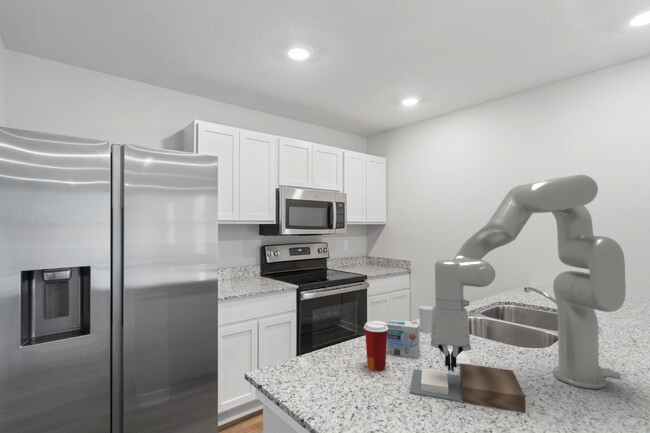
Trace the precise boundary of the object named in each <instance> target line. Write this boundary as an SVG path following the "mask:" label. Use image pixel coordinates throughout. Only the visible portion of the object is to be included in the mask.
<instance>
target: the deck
mask: <svg viewBox="0 0 650 433" xmlns="http://www.w3.org/2000/svg"><path fill="white" fill-rule="evenodd" d="M459 378H460V380H459V381H460V386H461V397H462V402H463V403H464V404H471V405H476V406H482V407H489V408H496V409H502V410H507V411H513V412H519V413H526V395H525V392H524V391H523V389H522V387H521V384H520V382H519V380H518V378H517V376H516V374H515V373H514V370H513V369H504V368H498V367H497V368H496V367H490V366H482V365H475V364H472V365H468V364H460V366H459Z"/></svg>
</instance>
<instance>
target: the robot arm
mask: <svg viewBox="0 0 650 433" xmlns="http://www.w3.org/2000/svg"><path fill="white" fill-rule="evenodd" d="M598 188H599V187H598V184H597V181H595V180H594V179H593V177H590V176H589V175H585V174H575V175H569V176H568V175H567V176H562V177H557V178H551V179H546V180H543V181H538V182H531V183H526V184H521V185H520V184H519V185H516V186H514V187H512V188H511V189H510V190H509V191H508V192H507V194H506V195H505V196H504V198H503V200H502V201H501V203H500V204H499V205H498V207H497V208H496V210H495V211H494V213H493V214H492V216H491V217H490V219H489V220H488V222H487V223H486V224H485V225H484V226H483V227H481V228H479V230H478V231H476V232H475V233H474V234H473V235H472V236H470V237H469V238H468V239H467V240H466V241H464V243H463V244H462V246H461V247H460V248H459V250H458V251H457V253H456V254H455V256H454V258H453V259H439V260H437V261H436V262H435V264H434V285H435V286H434V290H435V292H434V293H435V295H434V296H435V305H433V306H432V307H433V310H432V321H431V333H430V334H431V335H430V336H431V339H430V346H431V347H432V348H436V349H439V351H440V350H441V351H442V353H443V354H444V355H445V363H444V367H447V371H449V372H450V371H452V372H455V368H457V366H456V357H457V355H459V354H460V353H461V352H462V351H464V352H469V351H471V350H472V347H471V343H470V342H471V341H470V340H471V339H470V338H471V337H470V336H471V334H470V333H471V332H470V323H469V314H468V310H467V308H465V307H467V306H468V307H469V306H470V300H466V299H464V286H466V287H476V288H484V287H488V286H490V285H491V284H492V283H493V282H494V281H495V279H496V270H495V268H494V267H493V265H491V263H489V262H487V261H486V260H483V258H484V257H485V256H487V254H489V253H490V252H492V251H493V250H495V249H497V248H500V247H503V246H506V245H508V244H510V243H512V242H514V241H515V240H516V239H517V237H518V236H519V234H520V233H521V232H522V230H523V229H524V227H525V225H526V224H527V222H528V221H529V220H530V218H531V217H532V215H533V214H543V213H544V214H546V213H552V215H553V216H554V220H555V223H556V230H557V236H556V237H557V238H556V239H557V254H558V255H557V256H558V259H559V260H560V262H561V263H562V264H564V265H566V266H569V267H573V268H577V269H578V268H579V269H584V270H588V271H589V272H582V271H577V270H576V271H575V270H567V271H562V272H560V273H559V274H558V275H556V276H555V278H554V280H553V286H552V287H553V293H554V294H553V295H554V297H555V301H556V307H557V337H558V338H557V341H558V342H557V344H558V346H557V347H558V349H557V351H558V365H557V366H555V367H553V368H552V374H553V376H554V377H555V378H556V379H558V380H559V381H562V382H564V383H565V384H569V385H572V386H574V387H579V388H583V389H592V390H593V389H595V390H596V389H597V390H598V389H604V388H605V387H607V380H606V379H609V378H611V379H615V380H621V379H622V376H621V372H620V371H614V370H613V371H612V370H611V368H606V367H601V366H600V363H599V362H600V360H599V356H600V355H599V354H600V352H599V321H598V316H597V313H596V311H599V312H604V313H605V312H606V313H612V312H616V311H618V310H620V309H621V308H622V306H623V305H624V303H625V300H626V299H625V298H626V292H627V291H626V289H627V288H626V287H627V286H626V260H625V254H624V251H623V249H622V247H621V245H620V244H619V243H618V241H616V240H615V239H613V238H611V237H607V236H603V235H601V236H600V235H594V230H593V220H592V216H591V214H590V211H589V210H588V208H587V207H586V205H588V204H590V203H592V202H593V201H594V200H595V199H596V197H597V195H598V194H599V193H598V191H599V189H598ZM448 346H449V347H450V346H451V347H452V349H453V351H452V352H451V364H450V354H449V351H448V349H449V348H448Z"/></svg>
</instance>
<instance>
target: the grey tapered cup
mask: <svg viewBox="0 0 650 433" xmlns="http://www.w3.org/2000/svg"><path fill="white" fill-rule="evenodd" d="M433 307H434V306H431V305H419V306H418V312H419V313H418V314H419V329H420V333H423V334H431V321H432V310H433Z"/></svg>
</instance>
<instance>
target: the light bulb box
mask: <svg viewBox="0 0 650 433" xmlns="http://www.w3.org/2000/svg"><path fill="white" fill-rule="evenodd" d="M386 324H387V327H388V330H387V347H386V355H391V356H396V357H397V356H398V357H404V358H409V359H414V360H415V359H417V360H418V357H419V354H420V349H421V348H420V344H421V343H420V333H421V331H420V321H408V320H399V319H392V318H391V319H390V320H389V322H388V323H386Z"/></svg>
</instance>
